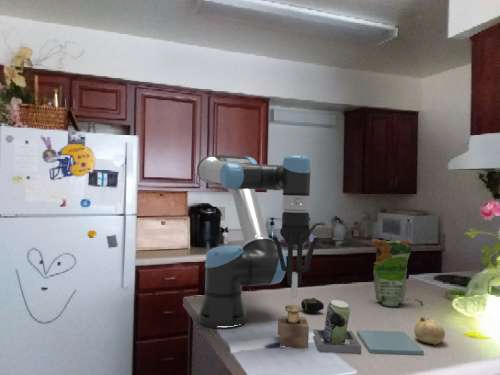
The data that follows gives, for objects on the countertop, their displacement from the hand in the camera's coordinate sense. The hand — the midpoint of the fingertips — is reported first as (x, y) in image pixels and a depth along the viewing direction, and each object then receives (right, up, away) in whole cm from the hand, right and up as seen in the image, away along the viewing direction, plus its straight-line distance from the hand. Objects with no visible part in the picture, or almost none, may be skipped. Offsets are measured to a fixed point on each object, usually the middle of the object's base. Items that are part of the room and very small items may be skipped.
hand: (294, 296), depth 107 cm
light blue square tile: (+27, -14, +1) cm, 30 cm away
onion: (+39, -14, +4) cm, 42 cm away
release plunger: (0, -11, 0) cm, 11 cm away
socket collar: (+12, -13, 0) cm, 18 cm away
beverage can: (+12, -14, 0) cm, 18 cm away
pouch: (+42, -15, +41) cm, 60 cm away
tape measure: (+12, -13, +28) cm, 33 cm away
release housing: (0, -13, 0) cm, 13 cm away
